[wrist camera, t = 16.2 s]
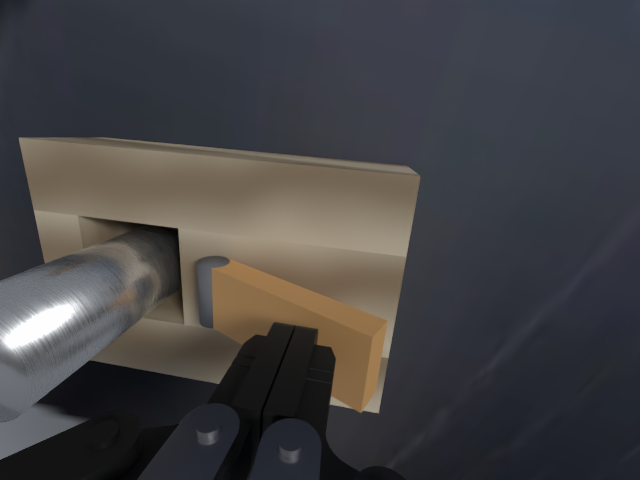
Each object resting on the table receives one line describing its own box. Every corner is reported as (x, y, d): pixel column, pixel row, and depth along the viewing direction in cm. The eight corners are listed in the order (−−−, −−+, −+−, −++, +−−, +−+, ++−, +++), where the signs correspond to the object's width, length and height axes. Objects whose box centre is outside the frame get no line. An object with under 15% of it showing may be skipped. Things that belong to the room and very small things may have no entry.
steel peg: (217, 274, 21) (41, 433, 10) (161, 267, 22) (-70, 409, 10) (215, 216, 20) (11, 319, 9) (156, 209, 20) (-113, 298, 9)
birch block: (376, 351, 21) (378, 413, 16) (126, 310, 23) (64, 355, 18) (406, 165, 17) (420, 176, 13) (104, 137, 19) (18, 137, 15)
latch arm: (217, 309, 16) (193, 320, 15) (216, 253, 15) (190, 261, 14) (375, 391, 12) (358, 417, 11) (387, 320, 11) (369, 340, 10)
